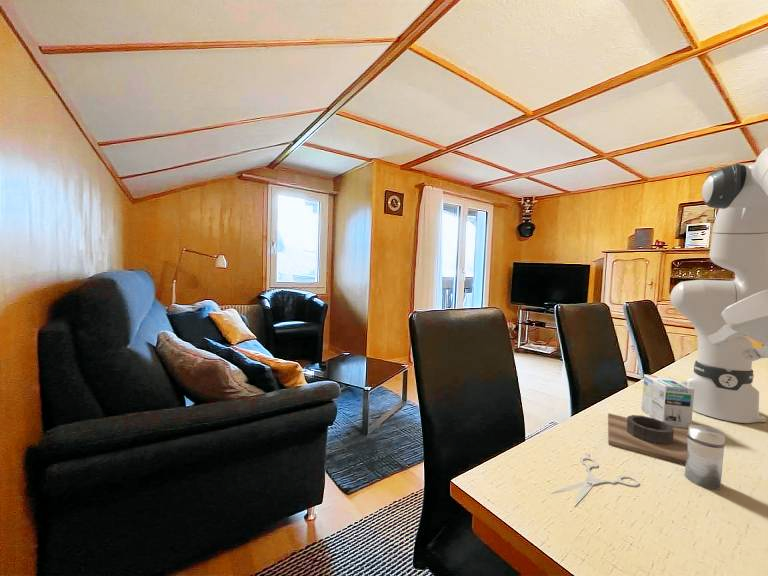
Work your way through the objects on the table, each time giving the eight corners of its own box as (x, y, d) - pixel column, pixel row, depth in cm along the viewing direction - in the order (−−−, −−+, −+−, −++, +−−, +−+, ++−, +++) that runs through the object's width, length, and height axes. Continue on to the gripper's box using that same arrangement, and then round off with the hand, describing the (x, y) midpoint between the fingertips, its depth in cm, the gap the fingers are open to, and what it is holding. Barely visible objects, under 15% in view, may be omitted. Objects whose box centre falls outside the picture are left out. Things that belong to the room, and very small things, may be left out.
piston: (681, 469, 67) (685, 422, 66) (716, 479, 64) (721, 429, 63) (687, 482, 63) (691, 432, 62) (724, 493, 60) (729, 440, 59)
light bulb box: (692, 429, 85) (696, 388, 84) (662, 426, 86) (666, 386, 86) (665, 412, 95) (669, 375, 95) (639, 409, 97) (642, 373, 96)
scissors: (644, 479, 63) (594, 518, 52) (644, 482, 63) (594, 523, 52) (586, 452, 72) (533, 481, 61) (586, 455, 72) (532, 485, 61)
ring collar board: (608, 416, 91) (609, 402, 90) (685, 434, 82) (686, 419, 82) (608, 444, 76) (609, 427, 76) (702, 470, 67) (704, 451, 67)
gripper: (853, 316, 55) (753, 350, 65) (779, 273, 50) (683, 318, 60) (886, 349, 51) (774, 380, 61) (809, 306, 46) (701, 348, 56)
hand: (728, 349), depth 61 cm, fingers open, 8 cm apart
